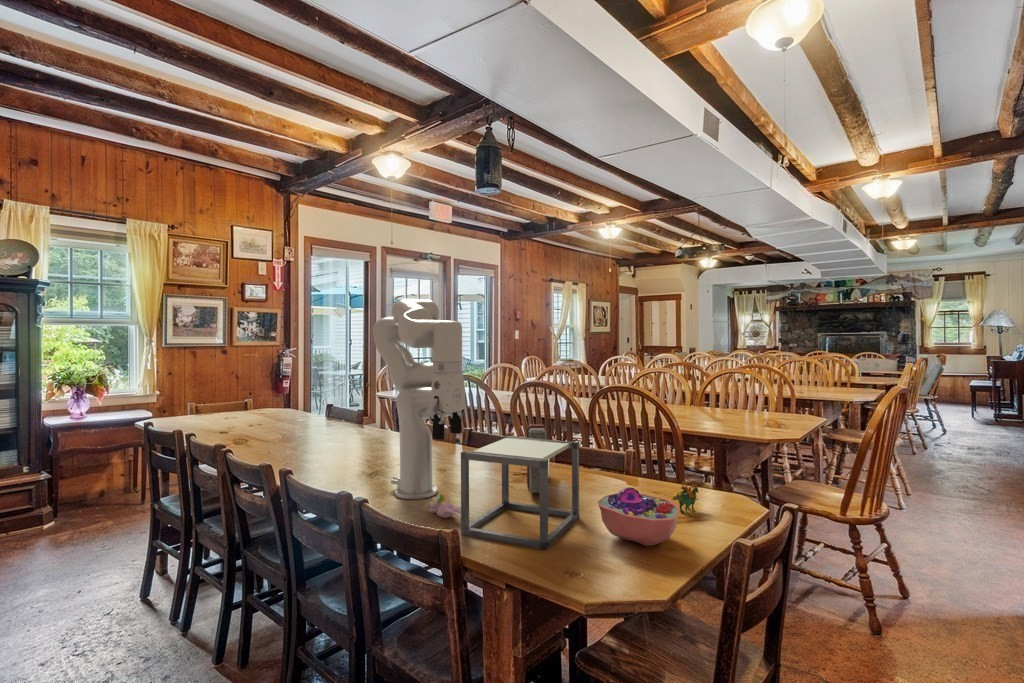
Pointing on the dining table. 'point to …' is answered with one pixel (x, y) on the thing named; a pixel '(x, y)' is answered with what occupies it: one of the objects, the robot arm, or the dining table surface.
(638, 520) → the cell model
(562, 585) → the dining table surface
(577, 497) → the frame
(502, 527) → the dining table surface
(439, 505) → the rabbit figure
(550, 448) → the trapdoor plate
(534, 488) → the decorative stone tablet
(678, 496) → the figurine
